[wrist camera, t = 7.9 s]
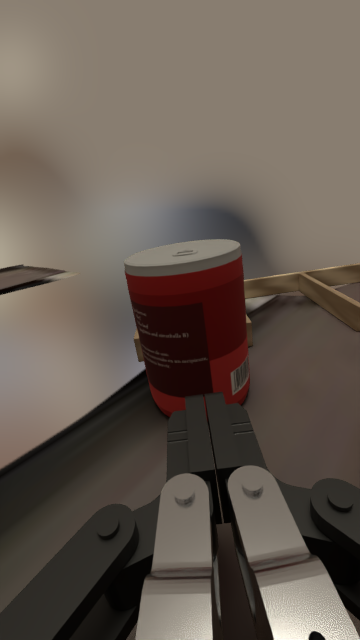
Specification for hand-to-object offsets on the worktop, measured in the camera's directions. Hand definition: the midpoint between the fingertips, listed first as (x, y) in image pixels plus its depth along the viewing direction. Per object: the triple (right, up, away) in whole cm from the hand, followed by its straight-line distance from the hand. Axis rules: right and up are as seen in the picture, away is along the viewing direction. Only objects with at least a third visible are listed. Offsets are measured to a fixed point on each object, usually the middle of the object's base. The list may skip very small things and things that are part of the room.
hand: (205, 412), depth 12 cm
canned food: (+1, -2, +12) cm, 12 cm away
